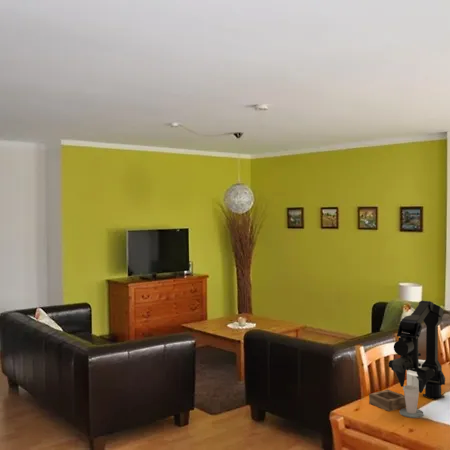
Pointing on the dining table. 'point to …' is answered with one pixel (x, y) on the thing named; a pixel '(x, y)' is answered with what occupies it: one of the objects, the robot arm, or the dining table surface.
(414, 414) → the coaster
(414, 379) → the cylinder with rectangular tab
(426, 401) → the dining table surface
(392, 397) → the holder
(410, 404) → the smoothie
